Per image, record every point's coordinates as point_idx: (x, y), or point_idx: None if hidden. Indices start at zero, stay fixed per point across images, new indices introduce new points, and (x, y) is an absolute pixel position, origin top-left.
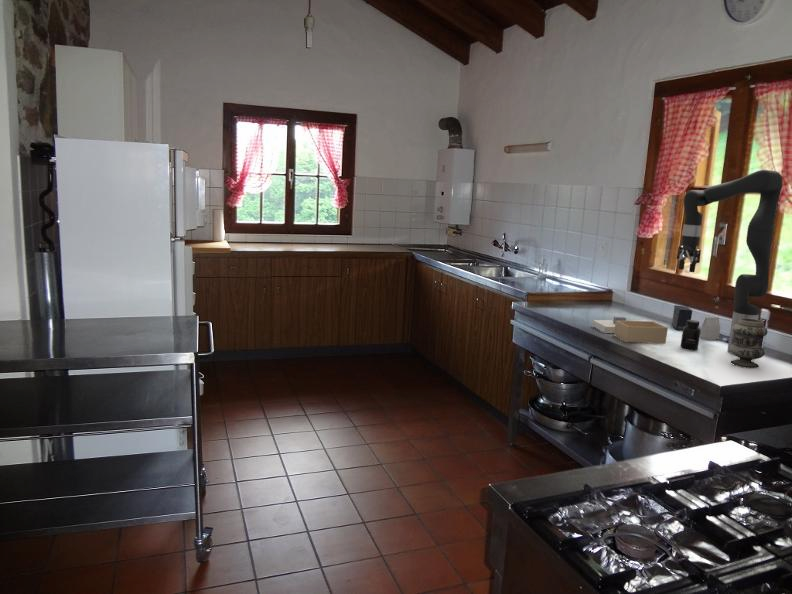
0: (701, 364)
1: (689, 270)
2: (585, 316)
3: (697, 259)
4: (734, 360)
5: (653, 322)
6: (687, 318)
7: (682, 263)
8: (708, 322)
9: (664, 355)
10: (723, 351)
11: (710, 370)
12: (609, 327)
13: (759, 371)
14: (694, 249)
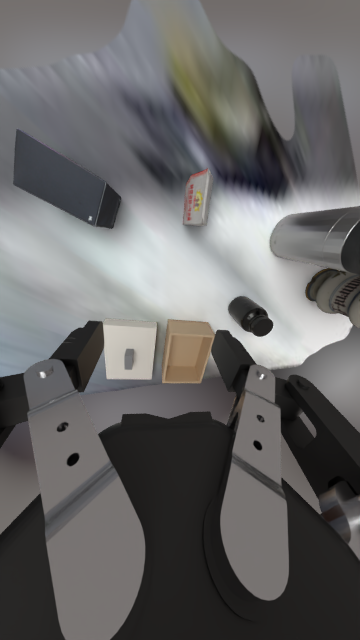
0: (292, 337)
1: (215, 356)
2: (19, 351)
3: (305, 408)
4: (313, 294)
5: (174, 334)
6: (110, 201)
7: (87, 361)
8: (205, 217)
9: (252, 354)
10: (269, 259)
11: (309, 341)
12: (151, 374)
13: None
14: (358, 631)
